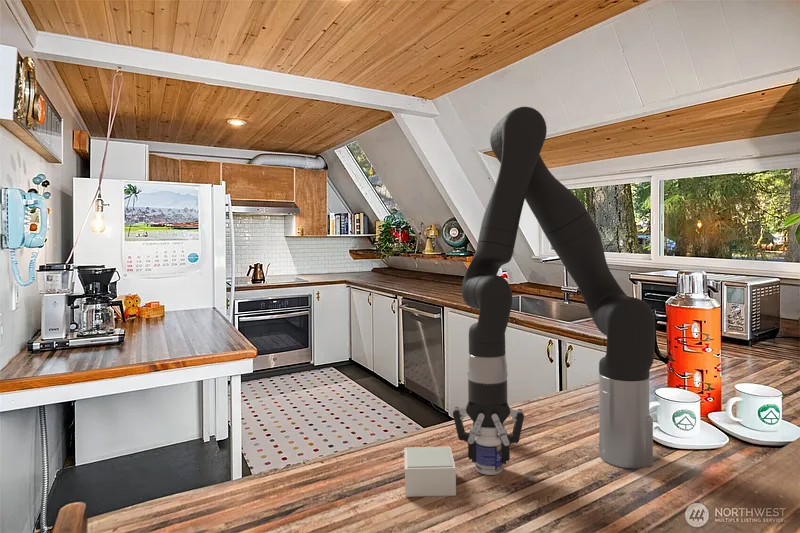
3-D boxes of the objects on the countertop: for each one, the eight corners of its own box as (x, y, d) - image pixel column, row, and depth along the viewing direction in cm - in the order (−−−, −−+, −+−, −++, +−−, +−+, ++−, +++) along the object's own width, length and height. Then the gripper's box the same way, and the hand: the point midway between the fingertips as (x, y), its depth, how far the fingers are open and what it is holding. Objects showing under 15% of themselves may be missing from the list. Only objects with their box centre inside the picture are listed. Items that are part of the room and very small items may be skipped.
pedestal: (450, 471, 95) (450, 445, 95) (456, 495, 86) (455, 466, 86) (404, 472, 95) (404, 446, 95) (405, 496, 86) (404, 468, 86)
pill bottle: (502, 476, 92) (502, 431, 92) (474, 474, 94) (474, 429, 93) (502, 464, 98) (501, 420, 97) (476, 462, 99) (475, 419, 98)
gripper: (523, 372, 97) (524, 455, 98) (451, 370, 100) (453, 451, 100) (526, 383, 90) (527, 472, 91) (449, 381, 92) (450, 468, 93)
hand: (488, 461), depth 95 cm, fingers closed on pill bottle, 5 cm apart
